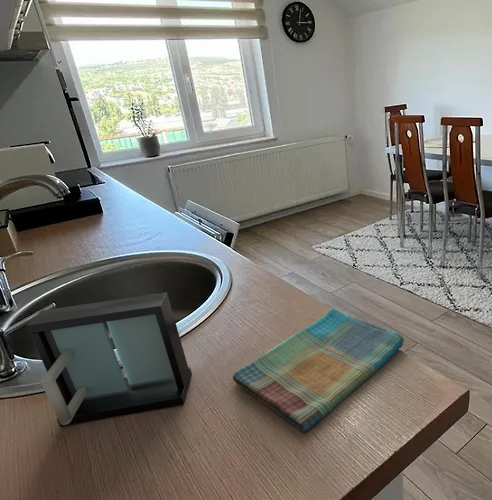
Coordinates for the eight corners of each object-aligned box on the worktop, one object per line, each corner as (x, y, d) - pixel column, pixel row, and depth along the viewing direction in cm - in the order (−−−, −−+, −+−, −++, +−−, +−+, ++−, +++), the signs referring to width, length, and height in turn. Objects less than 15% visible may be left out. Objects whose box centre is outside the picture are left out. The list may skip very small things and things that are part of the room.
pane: (52, 435, 55) (16, 361, 50) (76, 395, 62) (46, 328, 57) (110, 424, 56) (81, 351, 51) (128, 386, 63) (103, 319, 58)
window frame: (60, 427, 59) (17, 334, 53) (80, 393, 65) (44, 307, 59) (184, 405, 61) (156, 313, 55) (192, 374, 67) (168, 289, 61)
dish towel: (408, 347, 70) (407, 334, 69) (306, 437, 54) (304, 422, 53) (333, 315, 80) (332, 304, 79) (231, 383, 65) (228, 370, 64)
